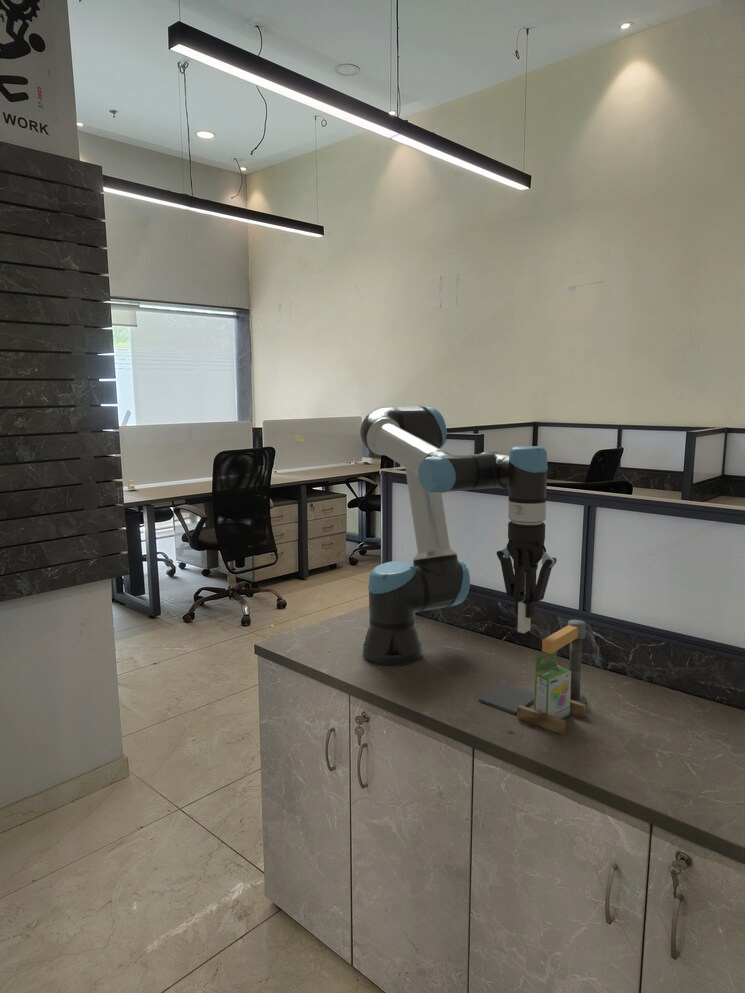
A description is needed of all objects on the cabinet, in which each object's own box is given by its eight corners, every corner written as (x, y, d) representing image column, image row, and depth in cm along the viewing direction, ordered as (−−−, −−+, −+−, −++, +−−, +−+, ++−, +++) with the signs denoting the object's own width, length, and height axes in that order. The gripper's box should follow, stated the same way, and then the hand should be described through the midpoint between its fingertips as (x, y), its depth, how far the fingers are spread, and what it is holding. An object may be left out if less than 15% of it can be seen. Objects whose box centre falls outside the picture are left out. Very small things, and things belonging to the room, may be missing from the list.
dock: (517, 718, 131) (519, 652, 129) (557, 689, 144) (559, 629, 141) (562, 734, 124) (565, 666, 122) (601, 703, 137) (604, 640, 135)
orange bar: (572, 631, 139) (572, 618, 138) (588, 635, 136) (588, 622, 136) (538, 651, 128) (538, 637, 128) (555, 656, 126) (555, 641, 125)
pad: (478, 701, 138) (478, 698, 138) (503, 685, 146) (503, 683, 146) (515, 714, 132) (515, 711, 132) (539, 698, 140) (539, 695, 139)
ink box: (548, 726, 128) (550, 662, 126) (532, 718, 131) (534, 655, 129) (570, 716, 132) (572, 654, 130) (554, 708, 135) (556, 648, 133)
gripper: (489, 520, 134) (487, 628, 137) (546, 528, 125) (543, 643, 128) (508, 515, 139) (506, 619, 143) (564, 522, 130) (560, 633, 134)
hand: (523, 630), depth 136 cm, fingers closed
